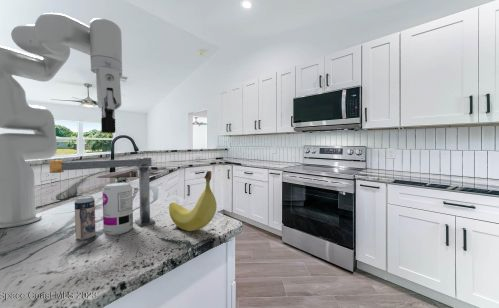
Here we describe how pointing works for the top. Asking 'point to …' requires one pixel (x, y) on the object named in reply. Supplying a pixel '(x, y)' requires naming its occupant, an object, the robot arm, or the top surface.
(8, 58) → the robot arm
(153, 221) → the post
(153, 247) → the top surface
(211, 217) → the banana
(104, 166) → the swing arm
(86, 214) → the beer can
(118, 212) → the supplement can
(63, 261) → the top surface
